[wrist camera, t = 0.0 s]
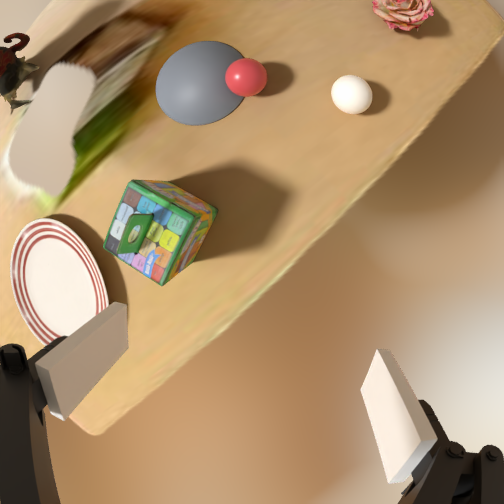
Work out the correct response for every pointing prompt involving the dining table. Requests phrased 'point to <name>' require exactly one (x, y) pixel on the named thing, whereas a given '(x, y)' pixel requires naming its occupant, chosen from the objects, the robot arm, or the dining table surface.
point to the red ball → (246, 77)
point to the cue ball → (351, 94)
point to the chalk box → (158, 228)
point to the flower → (403, 12)
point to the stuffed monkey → (14, 69)
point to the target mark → (197, 83)
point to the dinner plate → (55, 280)
